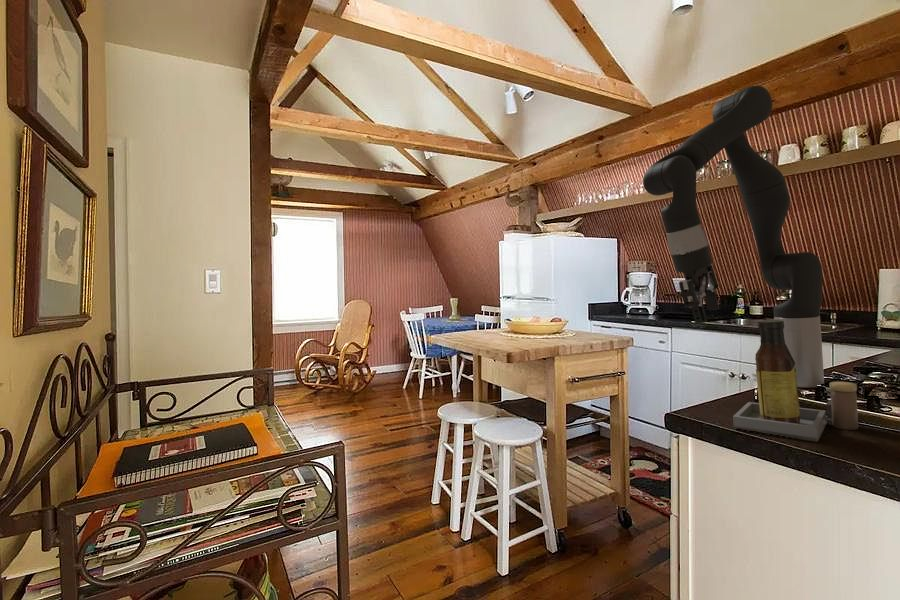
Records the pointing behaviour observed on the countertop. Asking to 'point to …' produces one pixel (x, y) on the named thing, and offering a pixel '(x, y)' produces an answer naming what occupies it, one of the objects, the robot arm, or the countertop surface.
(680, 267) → the robot arm
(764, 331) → the sauce bottle
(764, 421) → the tray
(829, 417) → the tray
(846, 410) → the lidded beige canister
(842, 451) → the countertop surface
